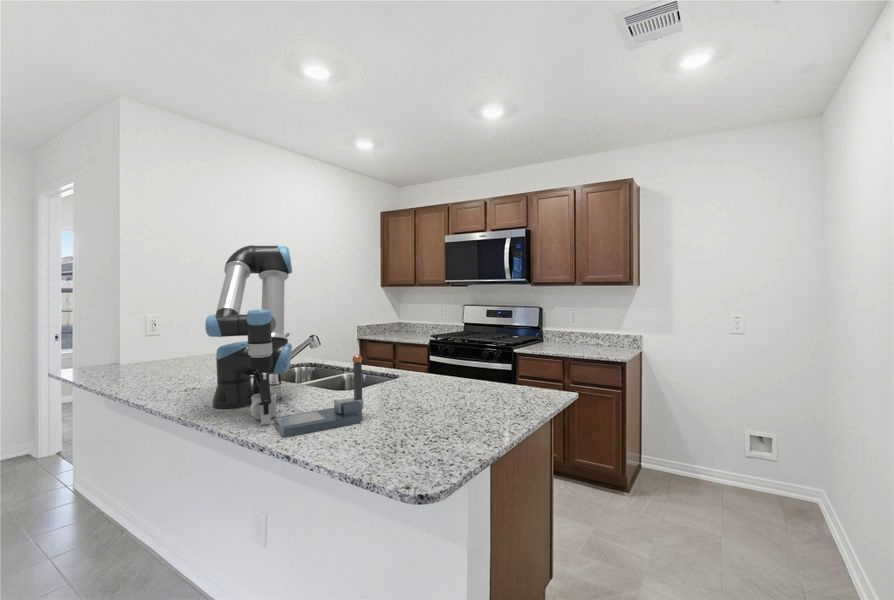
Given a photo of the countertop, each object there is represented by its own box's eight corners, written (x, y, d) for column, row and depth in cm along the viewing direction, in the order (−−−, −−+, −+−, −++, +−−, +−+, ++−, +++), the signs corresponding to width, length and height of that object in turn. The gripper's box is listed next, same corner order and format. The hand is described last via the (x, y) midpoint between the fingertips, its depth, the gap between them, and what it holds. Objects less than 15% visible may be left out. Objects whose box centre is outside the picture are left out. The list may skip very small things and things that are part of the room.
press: (274, 425, 142) (273, 408, 142) (349, 412, 156) (349, 396, 155) (283, 437, 130) (283, 419, 130) (365, 422, 144) (364, 405, 144)
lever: (334, 410, 148) (332, 356, 147) (360, 406, 153) (359, 353, 152) (339, 414, 144) (337, 358, 143) (365, 409, 149) (364, 355, 148)
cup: (263, 425, 142) (262, 400, 142) (241, 423, 144) (240, 399, 144) (282, 415, 153) (281, 392, 153) (261, 414, 155) (260, 391, 154)
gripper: (242, 352, 156) (244, 412, 157) (254, 361, 135) (256, 430, 136) (265, 350, 160) (266, 408, 161) (280, 359, 139) (281, 426, 140)
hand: (262, 419), depth 148 cm, fingers open, 12 cm apart
